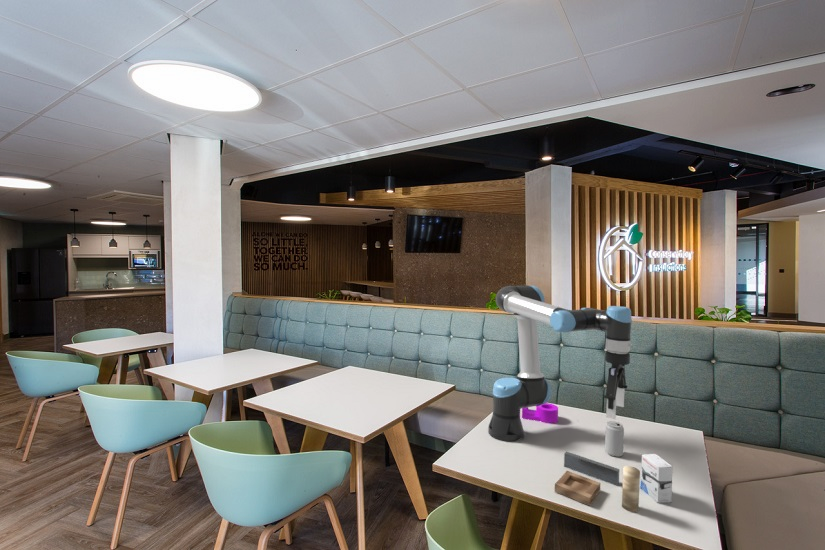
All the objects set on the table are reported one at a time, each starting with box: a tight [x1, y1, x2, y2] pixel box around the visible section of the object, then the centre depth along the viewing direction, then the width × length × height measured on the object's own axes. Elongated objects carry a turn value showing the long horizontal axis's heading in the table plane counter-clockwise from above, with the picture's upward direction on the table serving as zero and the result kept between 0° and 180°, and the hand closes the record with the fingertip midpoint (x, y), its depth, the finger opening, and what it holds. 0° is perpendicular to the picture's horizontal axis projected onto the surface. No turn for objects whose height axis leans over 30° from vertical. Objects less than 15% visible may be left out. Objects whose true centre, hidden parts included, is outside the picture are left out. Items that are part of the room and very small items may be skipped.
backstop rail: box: [563, 451, 620, 487], centre depth 139 cm, size 18×2×5 cm, turn 49°
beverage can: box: [604, 420, 625, 458], centre depth 154 cm, size 6×6×12 cm
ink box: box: [640, 453, 674, 504], centre depth 127 cm, size 8×5×12 cm, turn 5°
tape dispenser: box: [521, 402, 559, 424], centre depth 188 cm, size 16×10×6 cm, turn 68°
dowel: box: [621, 465, 641, 513], centre depth 121 cm, size 4×4×12 cm
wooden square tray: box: [554, 470, 601, 507], centre depth 129 cm, size 11×11×2 cm
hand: (615, 411), depth 136 cm, fingers open, 13 cm apart
